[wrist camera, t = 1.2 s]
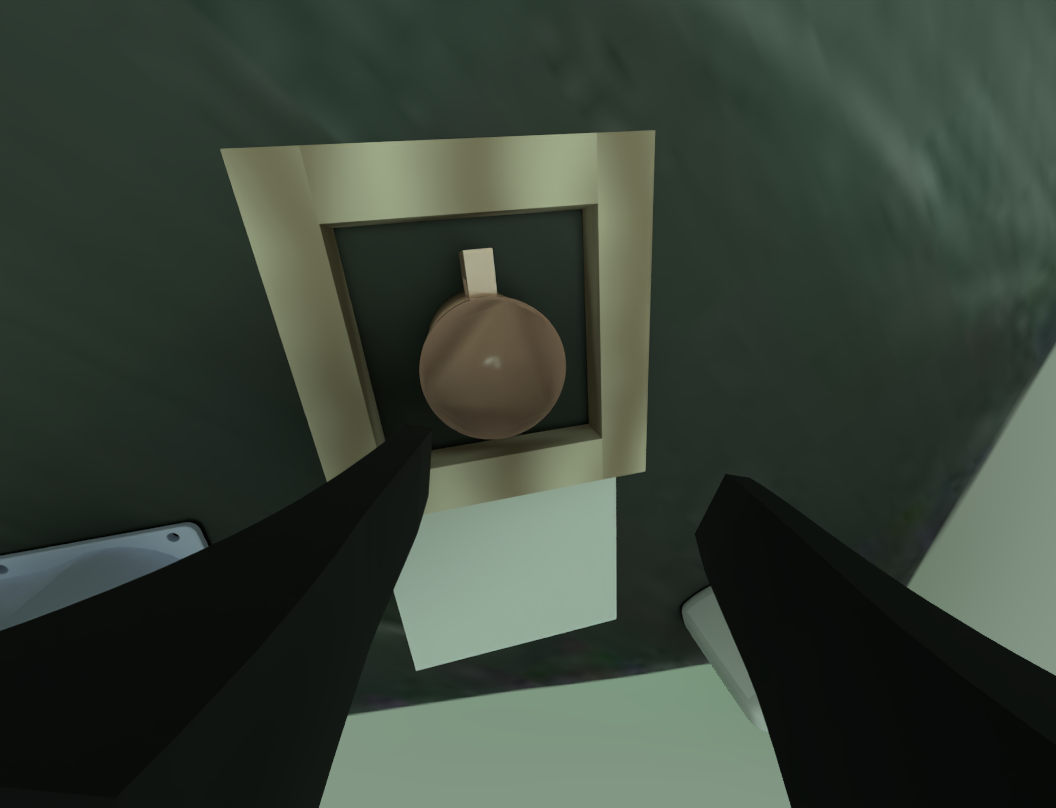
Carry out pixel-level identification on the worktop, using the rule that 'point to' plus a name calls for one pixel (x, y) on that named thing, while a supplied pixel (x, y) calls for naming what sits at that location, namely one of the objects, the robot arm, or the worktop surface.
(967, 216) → the worktop surface
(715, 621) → the eye dropper bottle
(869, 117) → the worktop surface
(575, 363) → the worktop surface
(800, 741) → the robot arm
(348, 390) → the holder
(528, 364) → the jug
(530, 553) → the mat
